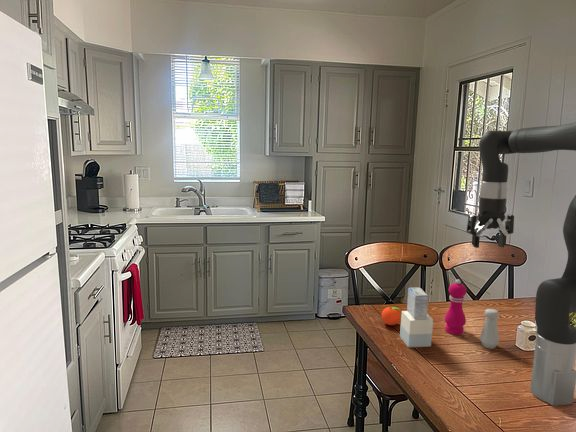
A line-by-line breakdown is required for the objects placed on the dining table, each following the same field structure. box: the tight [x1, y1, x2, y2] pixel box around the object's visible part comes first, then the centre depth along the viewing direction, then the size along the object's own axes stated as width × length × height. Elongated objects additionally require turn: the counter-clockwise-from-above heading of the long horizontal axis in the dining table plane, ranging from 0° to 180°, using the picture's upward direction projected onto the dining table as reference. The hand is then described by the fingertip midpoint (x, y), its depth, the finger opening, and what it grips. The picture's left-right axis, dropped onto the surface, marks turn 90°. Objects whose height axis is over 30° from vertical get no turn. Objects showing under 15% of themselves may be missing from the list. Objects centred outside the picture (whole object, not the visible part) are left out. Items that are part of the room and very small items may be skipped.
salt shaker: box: [479, 308, 500, 350], centre depth 138 cm, size 6×6×13 cm
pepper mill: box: [444, 279, 467, 336], centre depth 148 cm, size 7×7×20 cm
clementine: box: [381, 306, 401, 326], centre depth 155 cm, size 8×7×7 cm
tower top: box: [400, 310, 434, 335], centre depth 140 cm, size 8×8×5 cm
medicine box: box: [406, 287, 429, 319], centre depth 139 cm, size 8×4×9 cm, turn 1°
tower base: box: [399, 324, 433, 348], centre depth 141 cm, size 8×8×5 cm
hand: (488, 247), depth 128 cm, fingers open, 8 cm apart
